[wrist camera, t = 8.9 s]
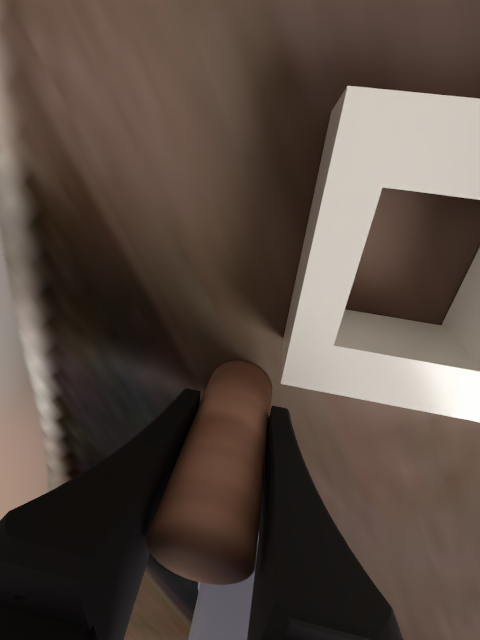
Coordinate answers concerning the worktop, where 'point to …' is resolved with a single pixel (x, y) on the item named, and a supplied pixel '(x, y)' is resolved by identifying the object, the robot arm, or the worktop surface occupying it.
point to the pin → (217, 482)
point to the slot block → (348, 243)
